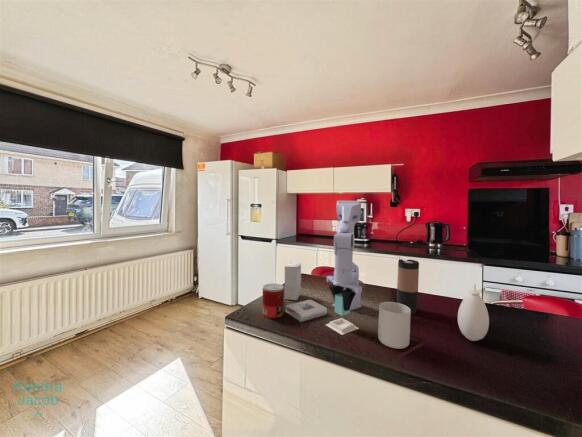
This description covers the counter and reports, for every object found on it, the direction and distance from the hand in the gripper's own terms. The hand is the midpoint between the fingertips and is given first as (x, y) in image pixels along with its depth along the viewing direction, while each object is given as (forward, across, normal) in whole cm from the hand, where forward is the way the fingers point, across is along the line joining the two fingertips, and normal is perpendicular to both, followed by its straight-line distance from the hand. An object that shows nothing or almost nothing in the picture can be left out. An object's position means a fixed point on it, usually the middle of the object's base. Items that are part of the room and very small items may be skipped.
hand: (342, 307), depth 85 cm
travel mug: (+7, +3, +33) cm, 34 cm away
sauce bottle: (+7, +27, +30) cm, 41 cm away
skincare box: (+7, -33, +2) cm, 34 cm away
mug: (+7, +14, +8) cm, 18 cm away
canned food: (+7, -21, -15) cm, 27 cm away
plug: (+2, 0, 0) cm, 2 cm away
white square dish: (+7, 0, 0) cm, 7 cm away
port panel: (+7, -15, -4) cm, 17 cm away
